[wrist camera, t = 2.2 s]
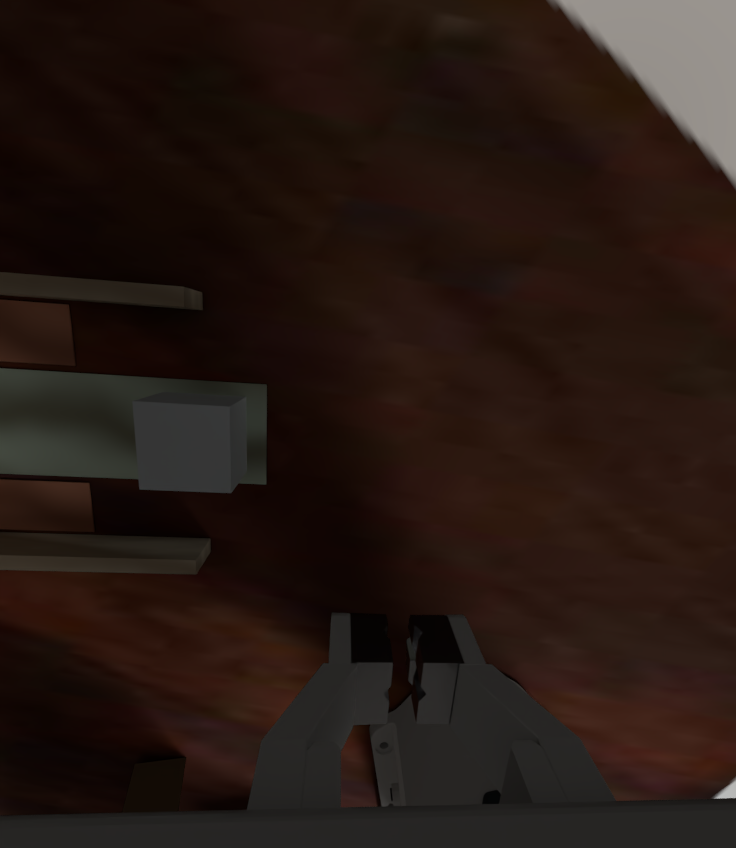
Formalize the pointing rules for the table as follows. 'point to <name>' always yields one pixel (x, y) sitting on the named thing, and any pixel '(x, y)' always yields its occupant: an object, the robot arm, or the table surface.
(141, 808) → the photo frame
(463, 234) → the table surface
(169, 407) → the block
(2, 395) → the grey-green e-shaped frame
